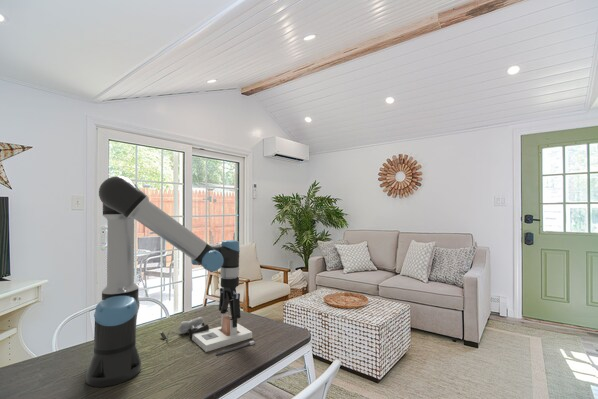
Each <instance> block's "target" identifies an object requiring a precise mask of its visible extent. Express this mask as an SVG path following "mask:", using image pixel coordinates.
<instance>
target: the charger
mask: <svg viewBox="0 0 598 399" xmlns="http://www.w3.org/2000/svg"><path fill="white" fill-rule="evenodd" d="M230 319H231V315H228V316H227V317H223V334H225V335H226V336H230Z"/></svg>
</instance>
